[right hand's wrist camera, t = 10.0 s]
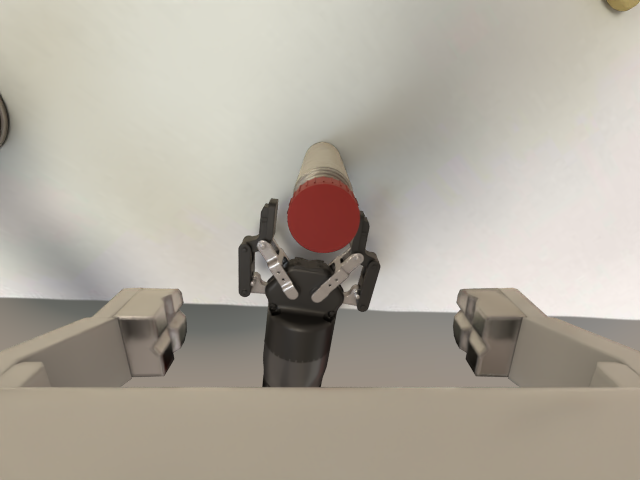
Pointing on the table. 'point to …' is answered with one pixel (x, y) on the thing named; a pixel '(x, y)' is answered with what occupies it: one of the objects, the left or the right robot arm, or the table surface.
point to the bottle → (322, 165)
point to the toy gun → (623, 4)
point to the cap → (323, 215)
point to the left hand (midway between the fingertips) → (317, 206)
